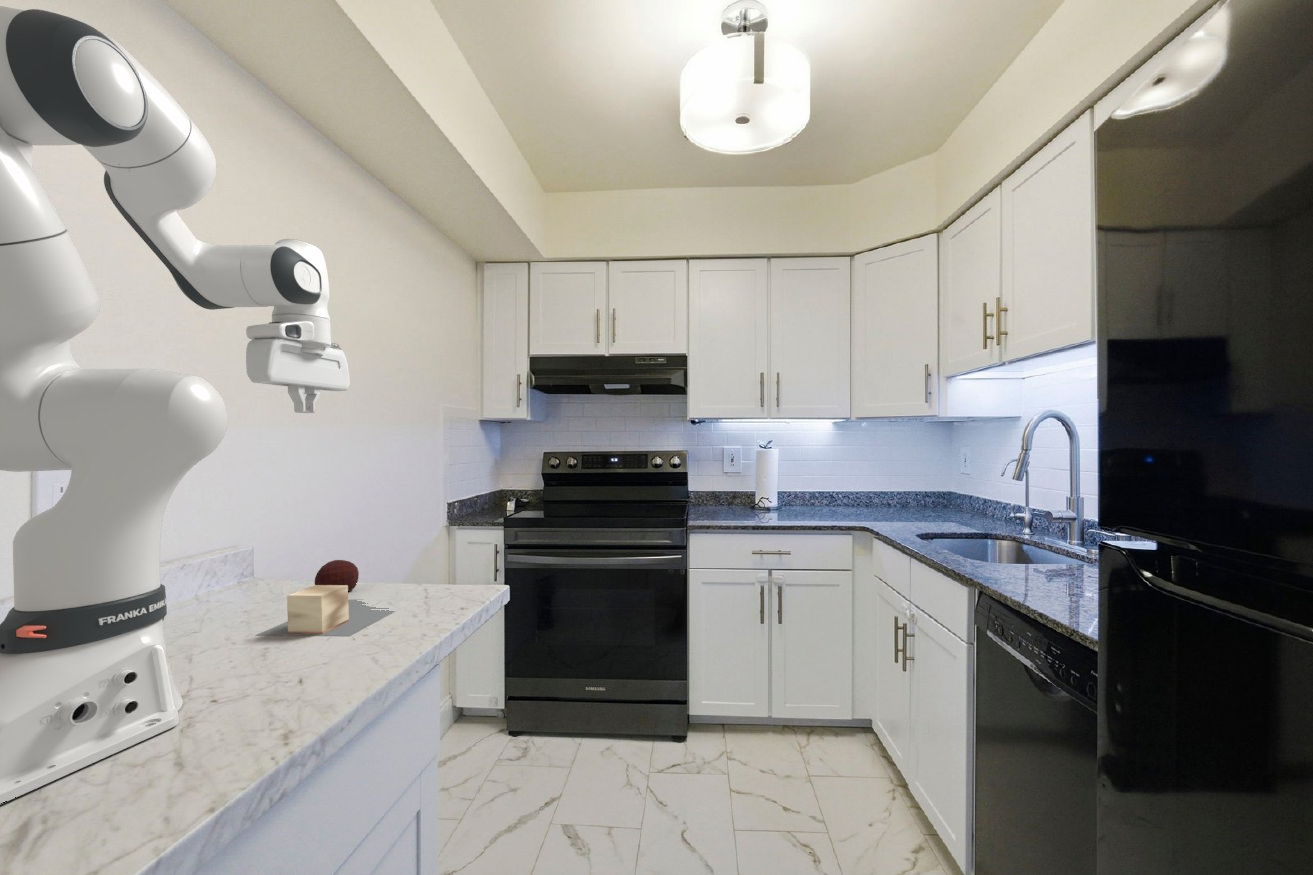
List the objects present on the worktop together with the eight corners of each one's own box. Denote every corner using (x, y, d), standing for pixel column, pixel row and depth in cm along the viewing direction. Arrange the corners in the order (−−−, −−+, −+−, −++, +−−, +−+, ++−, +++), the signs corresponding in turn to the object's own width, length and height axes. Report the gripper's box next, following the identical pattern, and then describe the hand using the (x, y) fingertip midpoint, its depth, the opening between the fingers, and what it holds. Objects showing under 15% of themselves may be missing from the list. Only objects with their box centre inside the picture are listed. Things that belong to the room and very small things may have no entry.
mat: (349, 639, 84) (349, 636, 84) (255, 638, 86) (255, 635, 86) (417, 602, 103) (417, 599, 103) (338, 602, 105) (338, 599, 105)
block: (347, 585, 91) (348, 621, 91) (315, 585, 92) (316, 620, 92) (321, 595, 85) (322, 633, 85) (286, 595, 86) (288, 633, 86)
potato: (361, 595, 109) (360, 560, 109) (315, 602, 105) (314, 566, 105) (357, 587, 115) (356, 554, 115) (314, 594, 111) (313, 560, 111)
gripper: (328, 345, 108) (330, 415, 108) (236, 325, 88) (239, 411, 88) (357, 344, 107) (359, 414, 107) (272, 323, 87) (275, 409, 87)
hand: (305, 412), depth 97 cm, fingers closed
